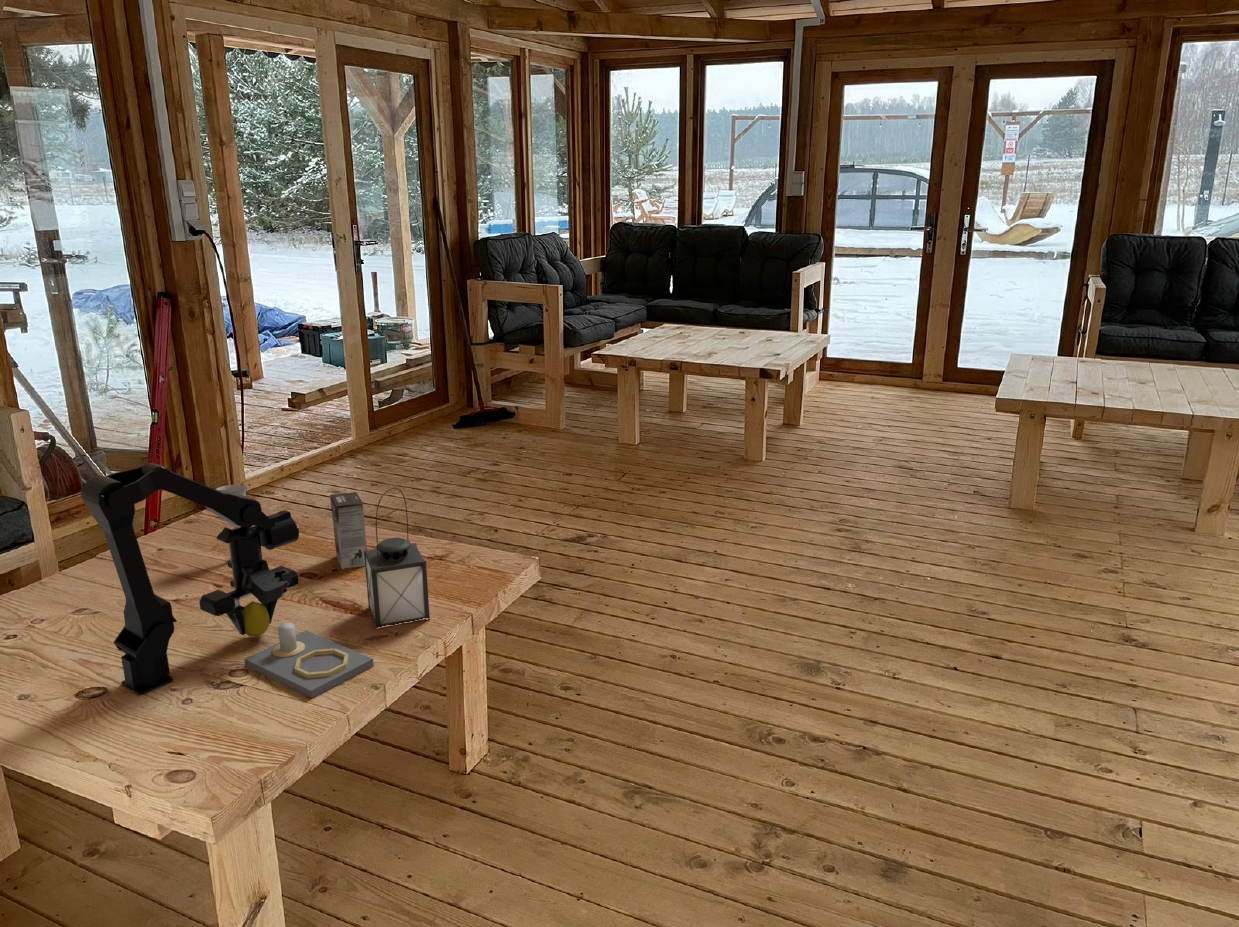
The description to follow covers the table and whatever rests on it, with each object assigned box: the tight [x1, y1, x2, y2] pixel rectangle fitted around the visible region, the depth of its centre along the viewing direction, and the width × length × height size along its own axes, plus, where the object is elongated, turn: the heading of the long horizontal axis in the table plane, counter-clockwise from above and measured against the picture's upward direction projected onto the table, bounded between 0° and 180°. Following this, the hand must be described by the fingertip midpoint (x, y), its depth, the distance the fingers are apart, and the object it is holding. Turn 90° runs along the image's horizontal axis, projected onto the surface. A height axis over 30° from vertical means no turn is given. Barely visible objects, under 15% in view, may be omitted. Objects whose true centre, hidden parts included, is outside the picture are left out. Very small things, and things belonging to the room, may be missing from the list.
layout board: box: [243, 622, 375, 699], centre depth 173 cm, size 14×20×6 cm
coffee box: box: [329, 491, 368, 570], centre depth 220 cm, size 9×6×16 cm
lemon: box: [242, 600, 270, 639], centre depth 184 cm, size 6×6×8 cm
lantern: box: [364, 487, 431, 629], centre depth 191 cm, size 11×11×28 cm
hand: (255, 628), depth 184 cm, fingers closed on lemon, 5 cm apart
